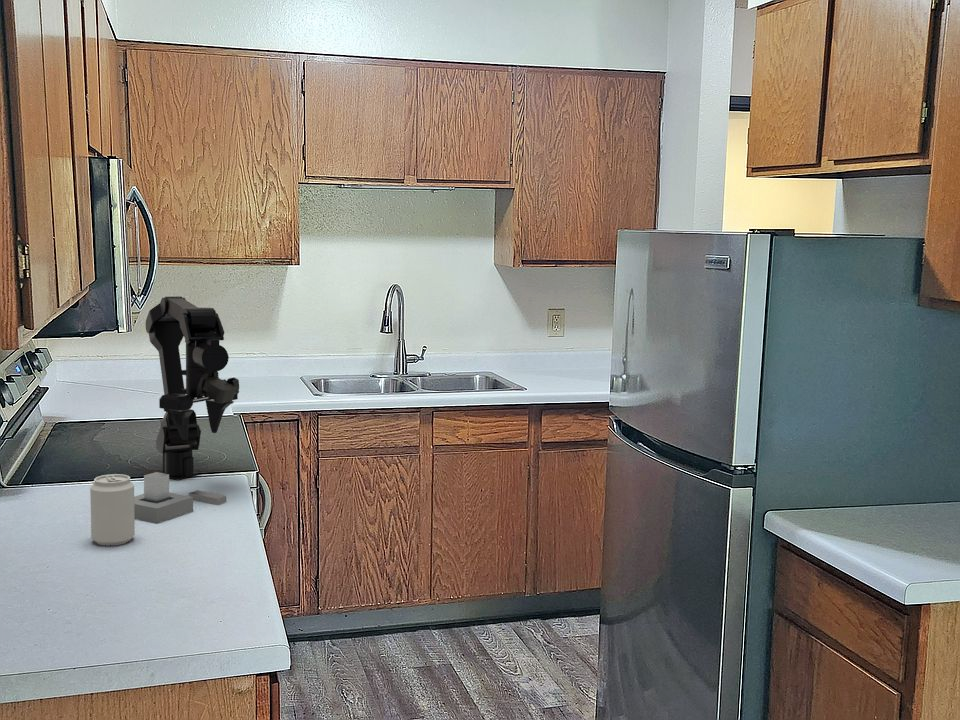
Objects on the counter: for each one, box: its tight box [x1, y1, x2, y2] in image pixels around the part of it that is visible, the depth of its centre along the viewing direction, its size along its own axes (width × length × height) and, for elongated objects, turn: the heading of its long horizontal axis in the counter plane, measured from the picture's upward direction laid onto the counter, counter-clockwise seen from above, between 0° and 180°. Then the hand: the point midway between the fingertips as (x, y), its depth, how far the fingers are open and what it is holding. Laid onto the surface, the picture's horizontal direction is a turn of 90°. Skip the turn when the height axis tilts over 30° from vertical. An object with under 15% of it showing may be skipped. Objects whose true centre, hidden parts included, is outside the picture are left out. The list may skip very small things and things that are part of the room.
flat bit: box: [187, 489, 227, 506], centre depth 205 cm, size 8×3×2 cm, turn 64°
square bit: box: [143, 471, 170, 504], centre depth 195 cm, size 3×3×8 cm
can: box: [89, 473, 136, 547], centre depth 177 cm, size 8×8×12 cm
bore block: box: [134, 492, 194, 524], centre depth 195 cm, size 10×10×3 cm
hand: (199, 436), depth 210 cm, fingers open, 9 cm apart
